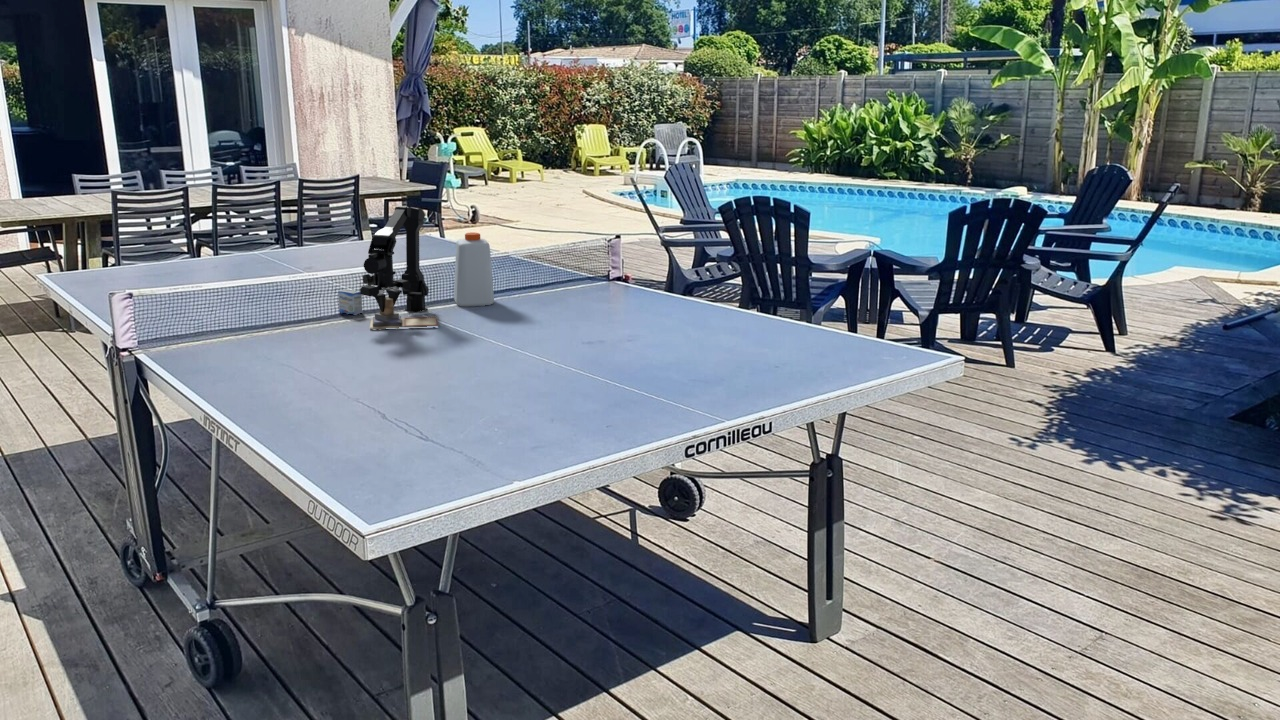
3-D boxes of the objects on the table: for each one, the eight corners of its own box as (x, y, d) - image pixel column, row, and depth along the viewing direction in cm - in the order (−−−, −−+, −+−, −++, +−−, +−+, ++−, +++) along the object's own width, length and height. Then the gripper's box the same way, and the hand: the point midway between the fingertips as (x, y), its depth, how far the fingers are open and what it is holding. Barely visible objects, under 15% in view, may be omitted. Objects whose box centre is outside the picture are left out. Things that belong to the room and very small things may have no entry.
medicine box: (338, 313, 382) (337, 290, 379) (347, 310, 386) (346, 288, 383) (354, 316, 378) (353, 293, 376) (363, 313, 382) (361, 291, 380)
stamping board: (436, 320, 376) (436, 313, 375) (438, 328, 365) (438, 321, 364) (370, 321, 370) (370, 315, 370) (370, 330, 359) (369, 323, 359)
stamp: (388, 315, 370) (387, 296, 367) (399, 318, 366) (398, 298, 364) (375, 318, 365) (374, 298, 363) (385, 321, 362) (385, 301, 359)
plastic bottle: (452, 299, 409) (450, 230, 401) (489, 297, 413) (488, 230, 405) (457, 307, 395) (455, 237, 387) (495, 306, 399) (494, 236, 391)
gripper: (390, 261, 372) (392, 302, 377) (349, 269, 358) (351, 311, 362) (410, 266, 366) (412, 307, 370) (369, 273, 351) (371, 316, 356)
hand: (386, 310), depth 365 cm, fingers closed on stamp, 3 cm apart
